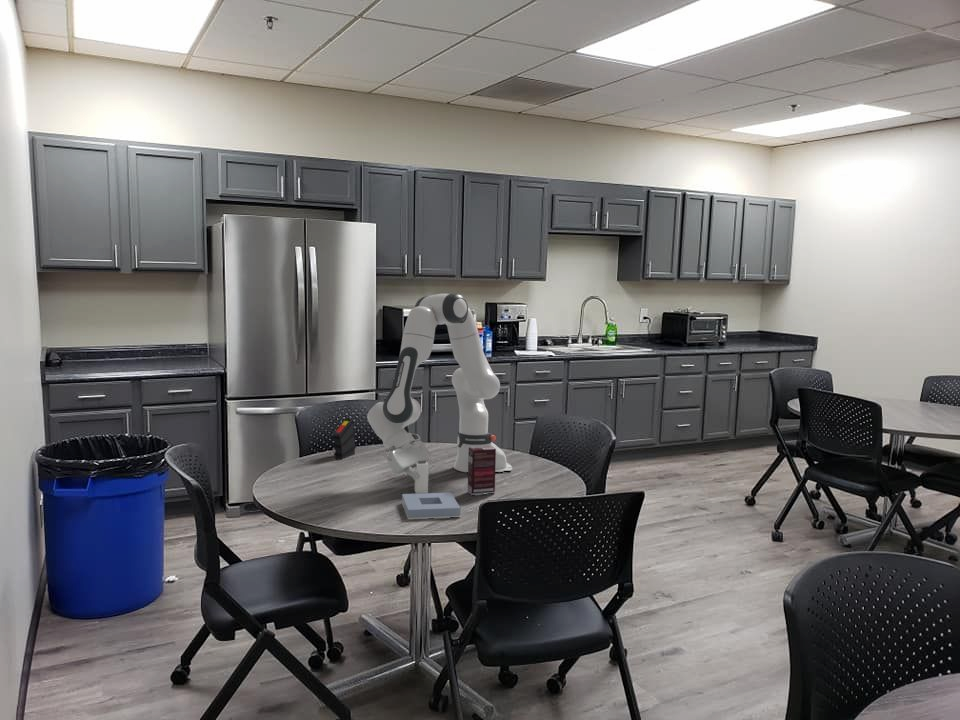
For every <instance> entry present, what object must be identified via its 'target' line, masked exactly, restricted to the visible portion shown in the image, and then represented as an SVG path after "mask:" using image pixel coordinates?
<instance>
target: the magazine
mask: <svg viewBox="0 0 960 720" xmlns="http://www.w3.org/2000/svg"><path fill="white" fill-rule="evenodd" d="M353 424H354V421H353V420H352V418H344V419H343V420H342V421H341V422H340V424H338V426H337V427H336V428H335V430H334V431H333V432H332V436H331V439H333V441H334V444H333V446H332V447H333V448H334V453H333V456H334V459H335V458H337V459H336V460H344V459H346V458H349V457H350V456H353V455H355V454H356V452H355V449H356V448H357V445H356V443H355V442H356V441H355V435H356V431H354V426H353ZM343 458H344V459H343Z"/></svg>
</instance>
